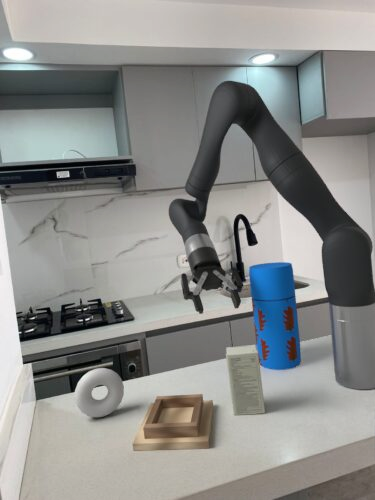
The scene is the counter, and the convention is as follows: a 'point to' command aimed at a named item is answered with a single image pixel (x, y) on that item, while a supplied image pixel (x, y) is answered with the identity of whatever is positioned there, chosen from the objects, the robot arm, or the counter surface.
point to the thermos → (275, 315)
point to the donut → (104, 405)
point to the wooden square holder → (176, 423)
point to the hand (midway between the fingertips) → (219, 309)
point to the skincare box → (245, 380)
